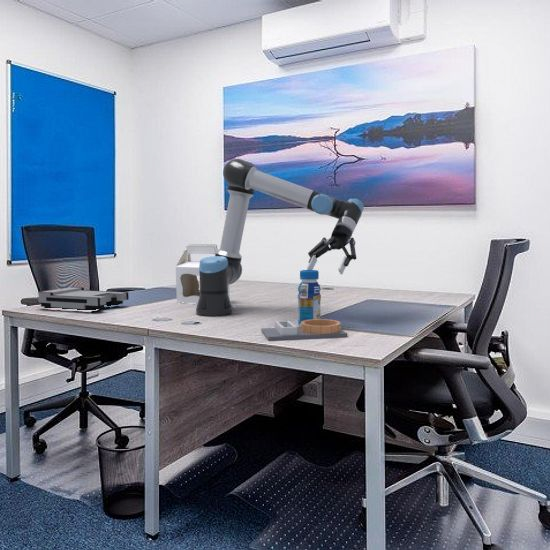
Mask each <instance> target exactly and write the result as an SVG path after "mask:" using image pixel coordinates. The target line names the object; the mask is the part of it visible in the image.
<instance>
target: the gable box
mask: <svg viewBox="0 0 550 550" xmlns="http://www.w3.org/2000/svg"><path fill="white" fill-rule="evenodd" d="M185 247H186V250H183V253H182V255H181V257H180V259H179V260H178V262H177V264H176V266H175V283H176V284H175V289H176V303H177V302H184V303H183V304H185V303H196V304H195V305H197V304H198V300H199V297H200V281H199V280H198V277H197V276H200V274H199V265H200V261H192V257H191V255H193V254H195V255H197V254H199V255H215V253H216V251H218V250H219V249H218V245H217V244H216V243H213V244H211V243H210V244H209V243H189V244H187V246H185ZM228 296H229V299H230V298H231V297H230V284H229V285H228ZM230 300H231V299H230Z"/></svg>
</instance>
